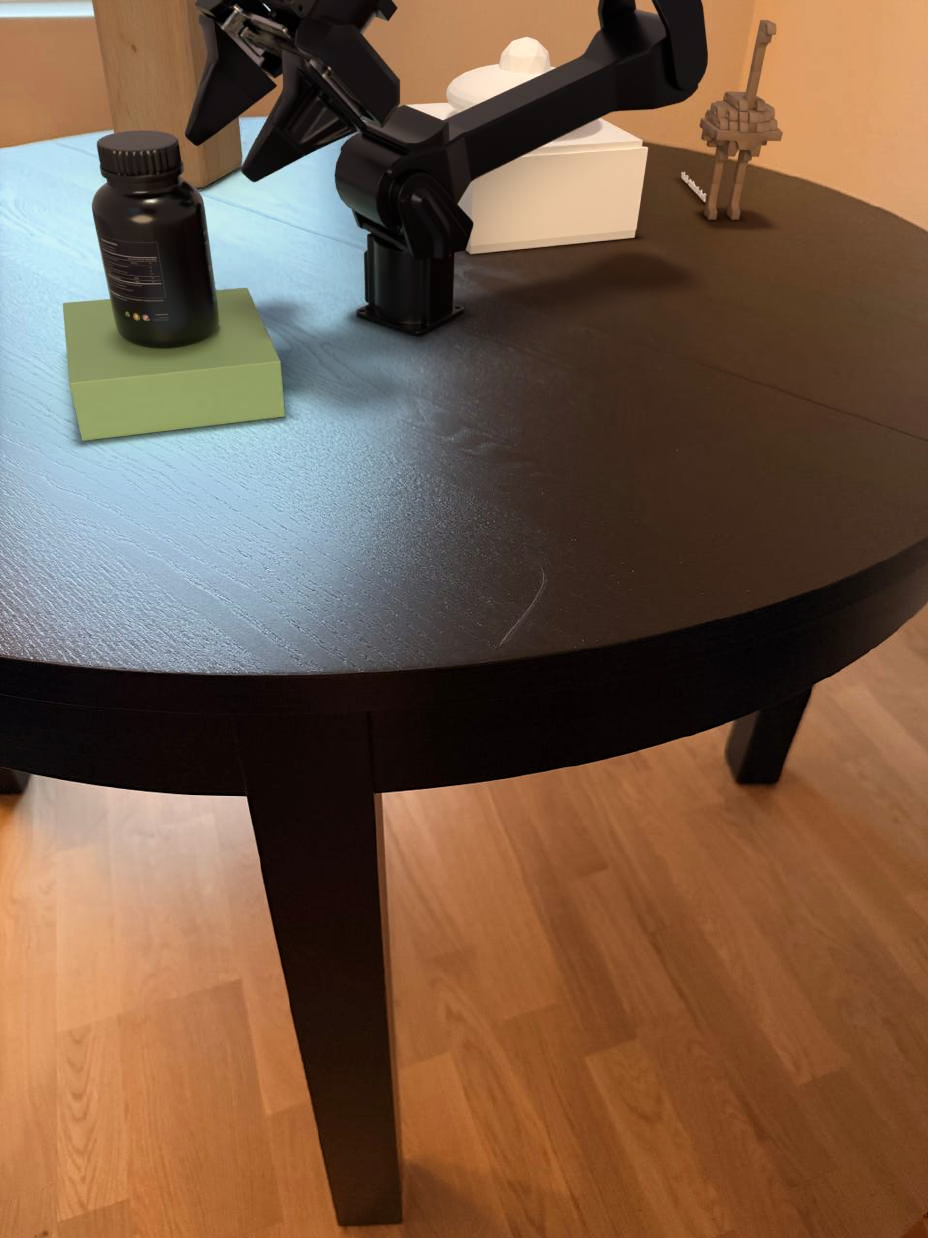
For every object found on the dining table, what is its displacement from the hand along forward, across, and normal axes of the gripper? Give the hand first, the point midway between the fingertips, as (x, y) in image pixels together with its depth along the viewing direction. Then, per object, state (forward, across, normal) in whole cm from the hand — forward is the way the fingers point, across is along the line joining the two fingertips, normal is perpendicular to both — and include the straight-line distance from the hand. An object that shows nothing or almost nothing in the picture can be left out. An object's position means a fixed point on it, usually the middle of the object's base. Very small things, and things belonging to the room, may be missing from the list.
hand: (217, 158), depth 65 cm
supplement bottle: (+11, +2, +3) cm, 12 cm away
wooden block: (0, -45, +19) cm, 49 cm away
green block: (+14, +2, +6) cm, 15 cm away
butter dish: (-17, -16, +36) cm, 43 cm away
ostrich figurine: (-32, -11, +52) cm, 62 cm away
